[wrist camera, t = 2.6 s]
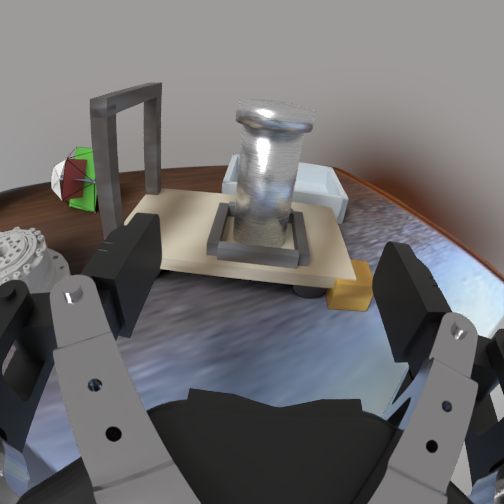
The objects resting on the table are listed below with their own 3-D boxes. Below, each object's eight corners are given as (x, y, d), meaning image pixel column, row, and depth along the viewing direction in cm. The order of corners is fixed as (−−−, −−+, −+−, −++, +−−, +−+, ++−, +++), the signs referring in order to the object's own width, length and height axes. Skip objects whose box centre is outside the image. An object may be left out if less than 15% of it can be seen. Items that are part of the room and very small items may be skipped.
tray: (220, 209, 32) (222, 182, 30) (231, 175, 40) (233, 154, 39) (341, 224, 32) (348, 199, 31) (327, 187, 40) (331, 167, 39)
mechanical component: (97, 294, 21) (41, 246, 24) (85, 244, 18) (29, 205, 22) (-3, 372, 13) (-39, 299, 17) (-36, 325, 11) (-59, 258, 14)
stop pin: (221, 251, 22) (233, 106, 16) (229, 217, 26) (240, 97, 20) (292, 259, 22) (320, 118, 16) (289, 224, 26) (310, 106, 20)
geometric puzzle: (93, 167, 34) (62, 129, 27) (136, 173, 33) (106, 130, 26) (69, 218, 32) (30, 186, 25) (111, 229, 31) (71, 194, 23)
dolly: (106, 281, 21) (82, 101, 14) (152, 209, 31) (150, 82, 23) (365, 311, 22) (429, 139, 14) (340, 230, 31) (370, 106, 24)
